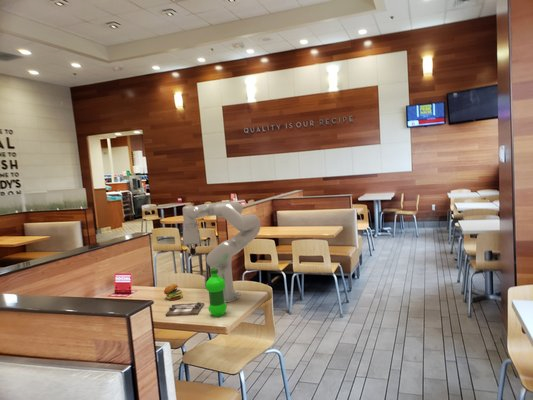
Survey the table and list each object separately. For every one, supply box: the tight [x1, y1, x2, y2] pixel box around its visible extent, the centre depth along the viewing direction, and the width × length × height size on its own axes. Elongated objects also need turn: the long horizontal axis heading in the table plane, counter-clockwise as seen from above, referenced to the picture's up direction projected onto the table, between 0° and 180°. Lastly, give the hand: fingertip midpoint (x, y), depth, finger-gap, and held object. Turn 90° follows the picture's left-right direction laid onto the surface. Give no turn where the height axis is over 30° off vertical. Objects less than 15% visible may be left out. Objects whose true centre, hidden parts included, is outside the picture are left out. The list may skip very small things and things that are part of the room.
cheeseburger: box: [163, 283, 184, 301], centre depth 246 cm, size 10×11×10 cm
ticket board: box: [164, 301, 205, 318], centre depth 222 cm, size 18×16×3 cm
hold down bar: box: [171, 305, 195, 308], centre depth 222 cm, size 15×2×1 cm, turn 85°
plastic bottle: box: [205, 268, 228, 317], centre depth 211 cm, size 10×10×25 cm
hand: (193, 254), depth 243 cm, fingers closed
